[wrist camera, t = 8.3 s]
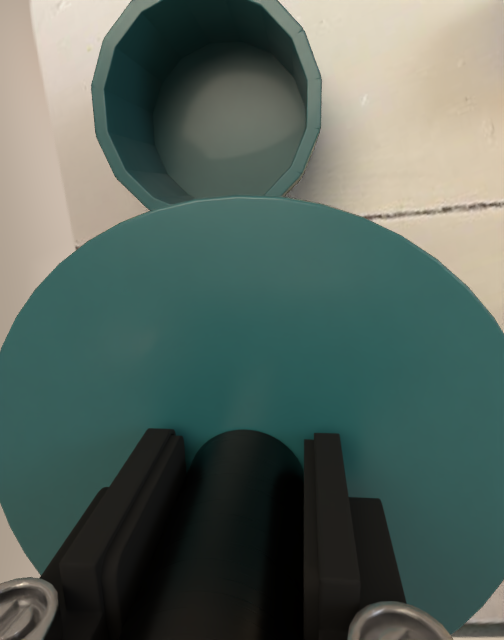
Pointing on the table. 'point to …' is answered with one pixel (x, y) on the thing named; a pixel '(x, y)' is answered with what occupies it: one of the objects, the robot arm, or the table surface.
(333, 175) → the table surface
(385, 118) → the table surface
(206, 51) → the pot
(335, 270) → the lid
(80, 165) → the table surface
